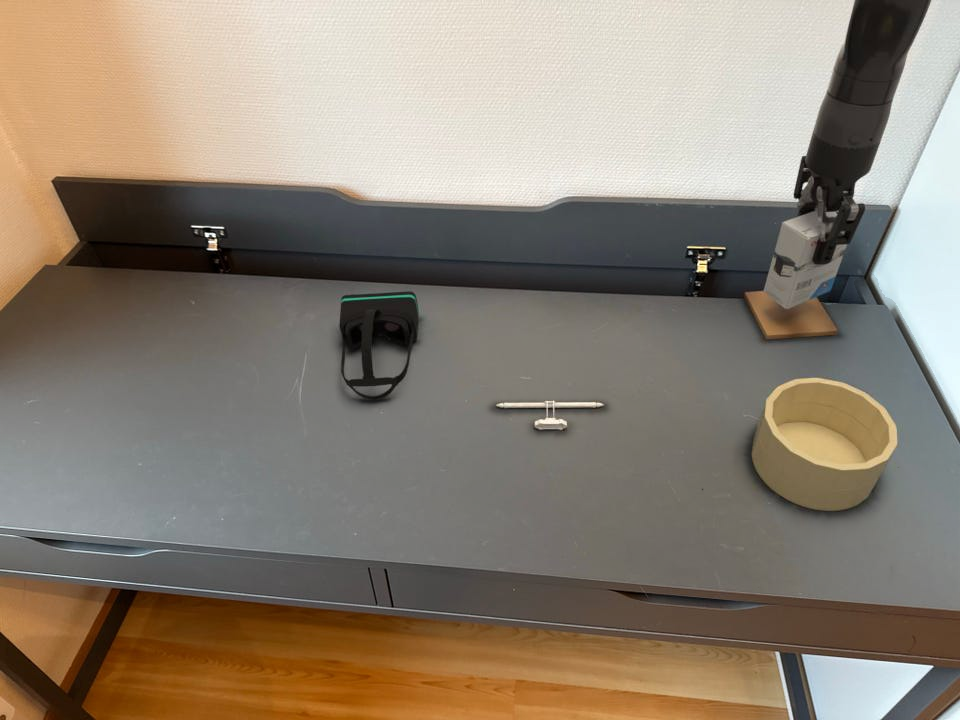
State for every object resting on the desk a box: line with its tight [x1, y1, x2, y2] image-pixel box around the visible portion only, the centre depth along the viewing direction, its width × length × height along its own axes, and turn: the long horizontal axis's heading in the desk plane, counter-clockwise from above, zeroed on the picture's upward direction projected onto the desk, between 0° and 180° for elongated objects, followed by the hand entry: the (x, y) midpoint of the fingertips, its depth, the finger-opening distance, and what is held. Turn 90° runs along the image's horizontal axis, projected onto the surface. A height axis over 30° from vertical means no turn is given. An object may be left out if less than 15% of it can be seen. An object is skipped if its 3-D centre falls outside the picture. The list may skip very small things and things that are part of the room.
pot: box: [751, 377, 899, 512], centre depth 81 cm, size 14×14×8 cm
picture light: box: [495, 399, 604, 431], centre depth 90 cm, size 14×4×2 cm, turn 88°
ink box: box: [762, 209, 848, 309], centre depth 96 cm, size 8×5×12 cm, turn 116°
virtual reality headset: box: [338, 290, 420, 401], centre depth 97 cm, size 11×17×10 cm, turn 2°
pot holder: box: [743, 290, 839, 340], centre depth 103 cm, size 10×10×1 cm
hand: (810, 247), depth 95 cm, fingers closed on ink box, 6 cm apart
